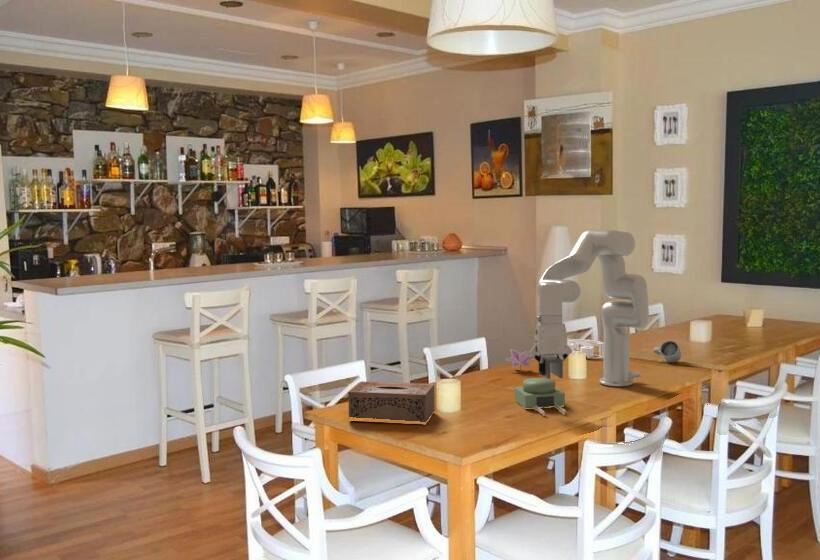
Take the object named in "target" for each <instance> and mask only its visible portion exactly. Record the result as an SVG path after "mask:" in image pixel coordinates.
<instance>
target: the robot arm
mask: <svg viewBox="0 0 820 560" xmlns="http://www.w3.org/2000/svg"><path fill="white" fill-rule="evenodd" d="M635 246H636V240H635V238H634V236H633V234H632V233H630V232H628V231H623V230H622V231H621V230H614V229H587V230H584V231H583V232H582V233H581V234H580V235H579V237H578V239H577V240H576V242H575V244H574V246H573V247H572V249H571V250H570V253H569V254H568V256H566V257H564V258H562V259H559V260H558V261H557V262H555V263H554V264H552V265H551V266H549V267H548V268H547V269H546V270H545V271H544V273H543V275H542V276H541V278H540V280H539V282H538V284H537V288H536V291H537V297H538V314H537V316H534V320H535V321H536V322H538V323H537V324H536V328H535V336H534V345H533V346H532V347H531V348H530V350H529V351H528V355H531V356H533V357H534V358H535V359H534V360H535V361H537V362H538V373H539V372H540V373H539V374H540V375H541V376H543V375H545V364H544V358H545V355H554V356H556V357H558V358H560V359H562V360H563V363H564V362H565V359H567V358H568V356H570V355H569V354H571V353H572V350H571V349H570V347H569V346H568V345H567V338H568V336H567V329H566V327H567V326H566V323H564V322H563V303H574V302H576V301H577V300H578V299H579V297H580V295H581V287H580V285H579V283H578V282H576V281H575V280H571V279H567V278H570V277H575V276H578V275H581V274H584V273H587V272H588V271H589V270H590V269H591V267H592V265H593V264H594V261H595V259H596V258H598V260H599V262H600V266H601V277H602V289H603V294H604V296H606V297H607V298H608V299H617V300H609V301H606V302H605V303H604V304H603V305H602V306H601V310H600V315H601V316H600V317H601V321H602V329H603V343H604V358H602V359H603V366H602V367H603V369H602V371H603V372H602V373H603V375H602V377H600V378H598V379H599V380H598V382H599V384H602V385H603V386H607V387H609V386H610V387H628V386H632V385H633V384H634V380H633V379H634V378H636V379H637V378H638V379H639V378H642V372H635V371H631V370H630V335H629V333H628V331H627V329H626V328H635V329H642V328H644V327H646V326H647V324H648V323H649V318H650V317H649V315H650V313H649V309H650V308H649V297H648V296H649V295H648V293H649V291H648V284H647V281H646V279H645V277H644V276H642V275H641V274H635V273H627V271H626V263H625V258H624V257H627V256H630V255H632V253H633V252H634V250H635ZM620 299H621V300H620ZM623 300H630V301H623ZM536 353H537V354H538V355H537V354H536Z"/></svg>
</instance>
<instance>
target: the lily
mask: <svg viewBox="0 0 820 560" xmlns="http://www.w3.org/2000/svg"><path fill="white" fill-rule="evenodd" d="M509 351H510V354H511V357H507V358H505V361H507V362H508V361H509V362H512V368H516V367H518V366H519V372H520V374H522V369H521V367H522V366H524V367H527V368H531V367H530V364H529V362H530V361H533V360H536V359H535V358H534V357H533V356H531V355H530V354H528V350H525V351H524V350H523V351H522V352H520V351H518V350H515V349H512V348H510V349H509ZM521 365H522V366H521Z"/></svg>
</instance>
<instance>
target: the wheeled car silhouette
mask: <svg viewBox="0 0 820 560" xmlns="http://www.w3.org/2000/svg"><path fill="white" fill-rule="evenodd" d="M567 345H568V346H569V347H570V349H571V350H574V351H576V350H579V352H580V351H582V352H584V353H586V354H587V358H586V359H588V360H597V359H603V358H604V342H602V341H600V340H599V341H597V340H593V339H586V338H585V339H580V338H576V339H575V338H568V337H567ZM594 347H598V348H599V349H598V354H595V353H594ZM594 356H597V357H594Z"/></svg>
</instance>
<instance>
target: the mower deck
mask: <svg viewBox="0 0 820 560" xmlns="http://www.w3.org/2000/svg"><path fill="white" fill-rule="evenodd" d="M565 394H566V393H565V392H564V391H562V390H560V389H559V388H558V387H556V381H555V380H554V379H552V378H550V379H547V378H546V377H544V378H543V377H531V378H526V379H524V380H523V382H522V386H516V387H514V401H515V400H516V401H517V402H518V403H519V404H521V405H522V406H523V407H524V408H533V407H534V408H535V409H536V410H538V411H539V412H540V413H542V414H545V415H546V411H544V409H540V408H539V407H549V406H555V407H556V408H558V409H559V410H561V411H562V412H564V413H566V414H567V410H566V409H565V408H562V407H560V406H562V405H565V402H566V399H565V398H566V396H565ZM518 403H517V404H518ZM519 404H518V405H519ZM565 406H566V405H565Z"/></svg>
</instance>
